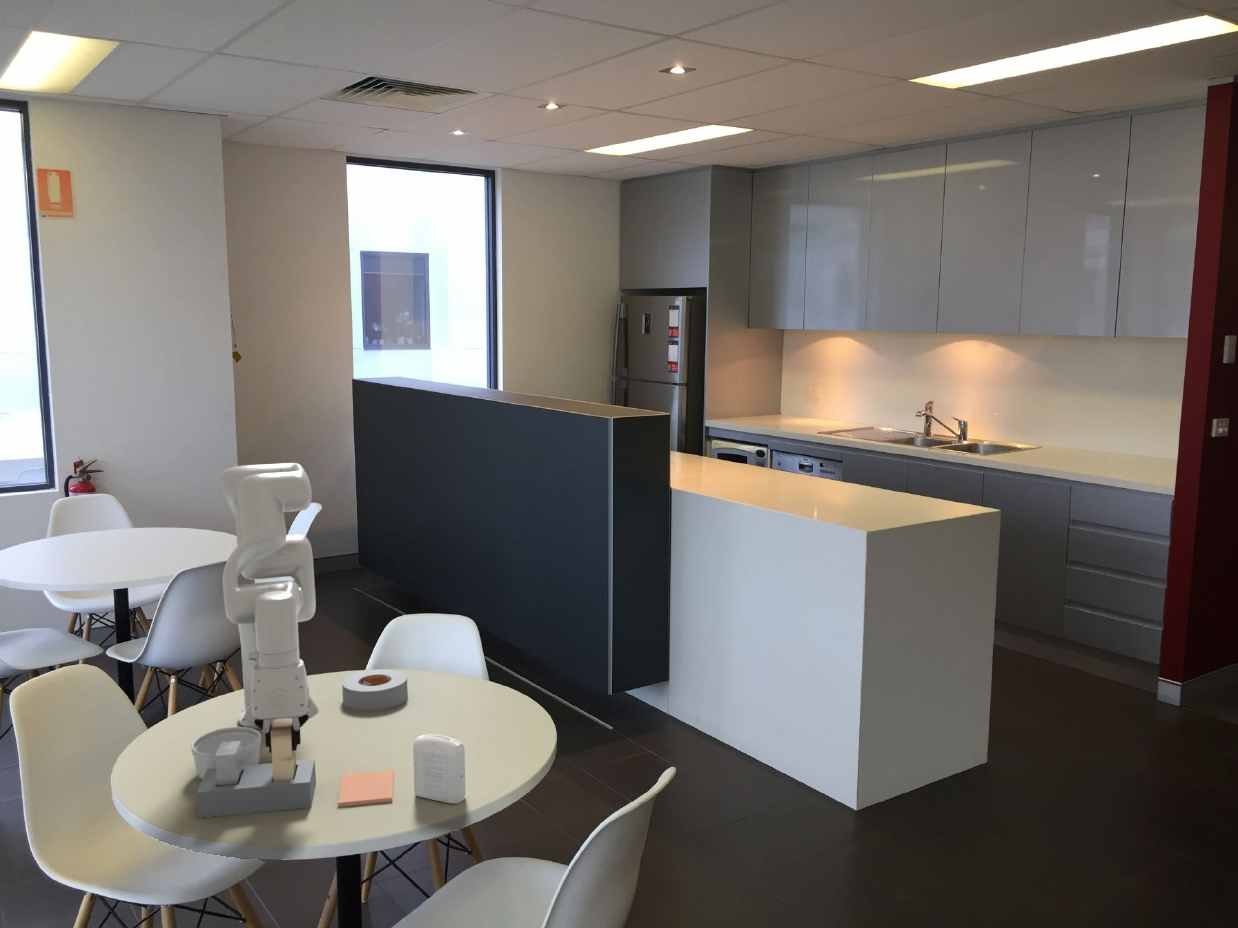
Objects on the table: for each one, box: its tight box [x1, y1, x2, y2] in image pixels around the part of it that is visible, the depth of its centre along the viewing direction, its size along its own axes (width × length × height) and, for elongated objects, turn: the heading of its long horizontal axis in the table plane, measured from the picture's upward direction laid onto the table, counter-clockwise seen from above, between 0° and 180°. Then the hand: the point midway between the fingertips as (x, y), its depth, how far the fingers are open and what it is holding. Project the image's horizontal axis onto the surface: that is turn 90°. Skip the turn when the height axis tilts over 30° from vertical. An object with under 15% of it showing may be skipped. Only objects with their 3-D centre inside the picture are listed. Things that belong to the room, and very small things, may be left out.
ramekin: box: [190, 726, 262, 781], centre depth 202 cm, size 13×13×7 cm
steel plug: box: [215, 741, 243, 787], centre depth 188 cm, size 6×4×11 cm, turn 12°
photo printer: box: [412, 733, 466, 805], centre depth 190 cm, size 10×4×12 cm, turn 69°
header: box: [196, 758, 317, 818], centre depth 190 cm, size 10×20×5 cm, turn 102°
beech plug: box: [271, 718, 297, 782], centre depth 190 cm, size 6×4×11 cm, turn 12°
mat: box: [337, 769, 395, 808], centre depth 194 cm, size 12×10×1 cm
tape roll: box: [341, 669, 409, 712], centre depth 240 cm, size 15×15×5 cm
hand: (283, 747), depth 190 cm, fingers closed on beech plug, 3 cm apart
